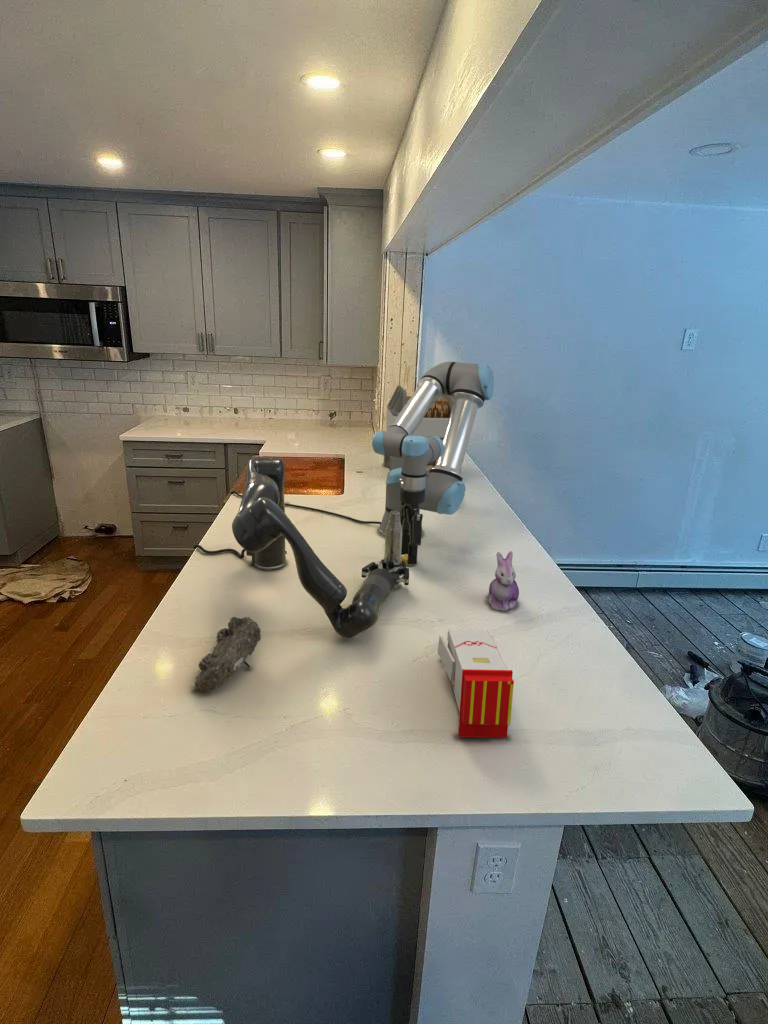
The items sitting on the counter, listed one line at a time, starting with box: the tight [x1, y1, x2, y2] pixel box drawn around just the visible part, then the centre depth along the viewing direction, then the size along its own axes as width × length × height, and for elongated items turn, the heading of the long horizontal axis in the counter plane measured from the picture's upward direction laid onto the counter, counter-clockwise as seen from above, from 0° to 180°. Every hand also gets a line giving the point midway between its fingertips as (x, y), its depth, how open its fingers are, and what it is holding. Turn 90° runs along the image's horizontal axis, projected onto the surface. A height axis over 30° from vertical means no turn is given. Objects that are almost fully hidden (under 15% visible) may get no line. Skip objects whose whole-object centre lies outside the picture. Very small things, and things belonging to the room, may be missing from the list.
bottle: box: [383, 510, 403, 590], centre depth 159 cm, size 5×5×22 cm
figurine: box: [487, 550, 520, 612], centre depth 153 cm, size 9×10×15 cm
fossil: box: [194, 616, 262, 693], centre depth 122 cm, size 22×10×15 cm
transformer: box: [383, 384, 462, 475], centre depth 268 cm, size 34×33×41 cm
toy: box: [437, 628, 515, 738], centre depth 117 cm, size 12×13×30 cm
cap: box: [401, 554, 415, 567], centre depth 177 cm, size 4×4×2 cm
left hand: (394, 562), depth 163 cm, fingers closed on bottle, 4 cm apart
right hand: (408, 558), depth 177 cm, fingers open, 7 cm apart
